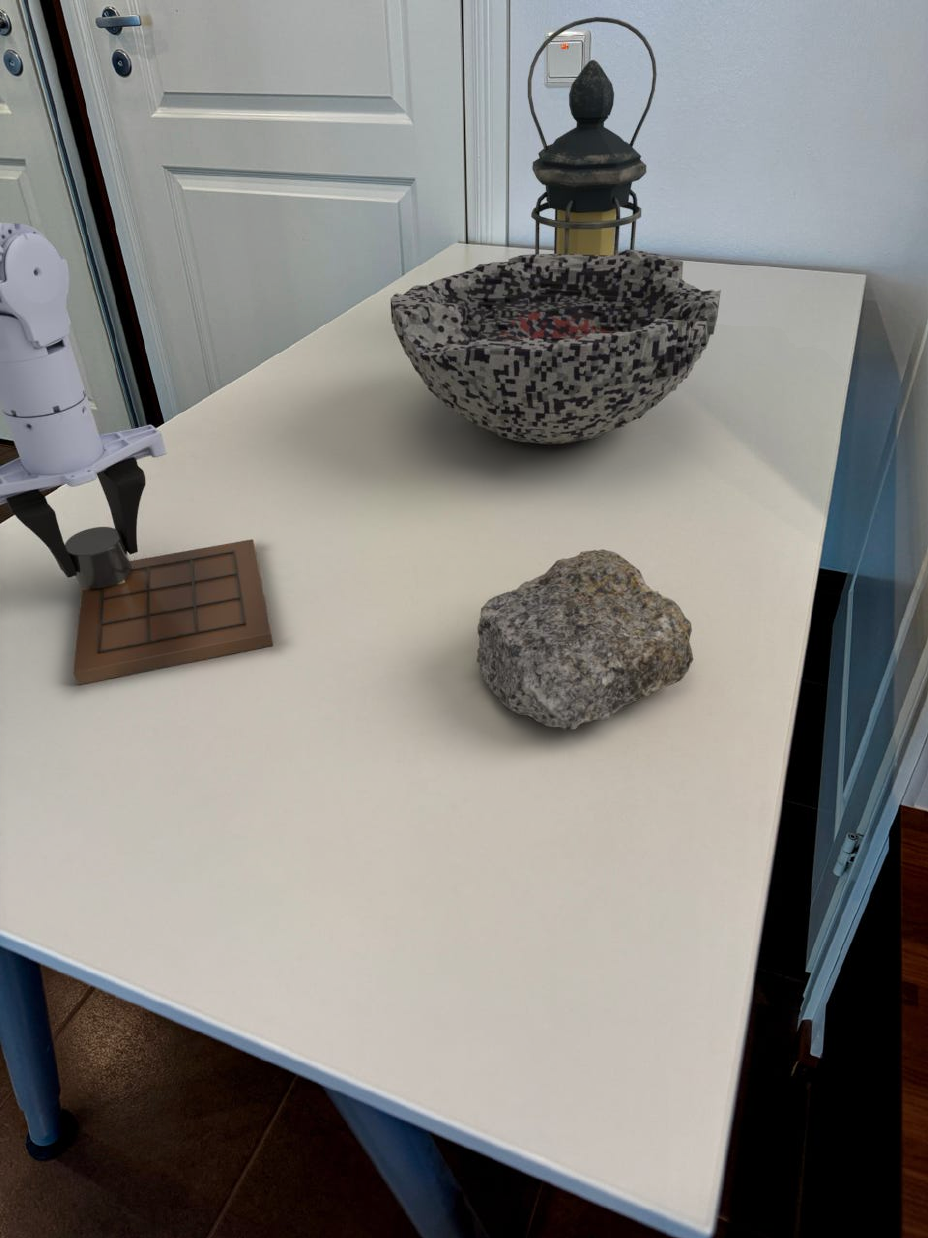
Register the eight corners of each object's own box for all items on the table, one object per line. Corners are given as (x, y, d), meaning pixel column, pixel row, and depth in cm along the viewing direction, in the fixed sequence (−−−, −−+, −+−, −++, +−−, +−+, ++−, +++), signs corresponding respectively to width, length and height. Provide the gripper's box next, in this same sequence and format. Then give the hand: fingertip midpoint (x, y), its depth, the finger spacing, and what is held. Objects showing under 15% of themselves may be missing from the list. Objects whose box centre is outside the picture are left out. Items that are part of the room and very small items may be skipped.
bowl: (712, 383, 102) (731, 247, 93) (681, 518, 78) (703, 353, 69) (456, 362, 110) (450, 235, 101) (357, 478, 86) (339, 326, 77)
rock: (545, 766, 55) (720, 683, 61) (551, 690, 51) (738, 609, 57) (443, 655, 64) (606, 592, 70) (442, 583, 60) (615, 522, 66)
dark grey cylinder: (87, 595, 69) (75, 562, 68) (68, 572, 72) (56, 539, 70) (140, 574, 72) (129, 541, 70) (120, 553, 74) (109, 520, 72)
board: (77, 685, 63) (71, 671, 62) (87, 580, 74) (82, 566, 73) (273, 645, 66) (270, 631, 65) (255, 550, 77) (252, 536, 76)
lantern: (626, 321, 120) (649, 9, 99) (645, 356, 109) (675, 16, 88) (522, 326, 120) (522, 15, 99) (530, 362, 109) (533, 22, 88)
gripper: (-49, 450, 57) (22, 617, 65) (162, 389, 64) (203, 547, 72) (-75, 417, 61) (-5, 577, 70) (126, 363, 68) (168, 514, 76)
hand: (99, 559), depth 71 cm, fingers closed on dark grey cylinder, 4 cm apart
